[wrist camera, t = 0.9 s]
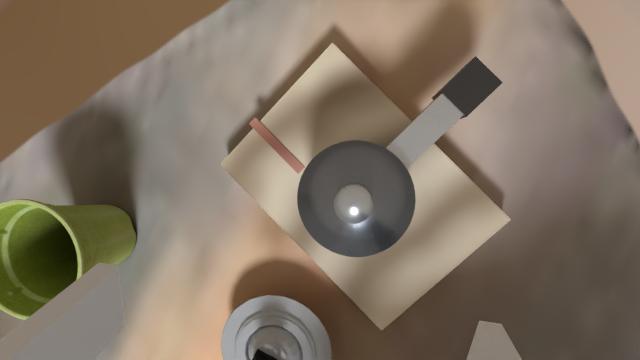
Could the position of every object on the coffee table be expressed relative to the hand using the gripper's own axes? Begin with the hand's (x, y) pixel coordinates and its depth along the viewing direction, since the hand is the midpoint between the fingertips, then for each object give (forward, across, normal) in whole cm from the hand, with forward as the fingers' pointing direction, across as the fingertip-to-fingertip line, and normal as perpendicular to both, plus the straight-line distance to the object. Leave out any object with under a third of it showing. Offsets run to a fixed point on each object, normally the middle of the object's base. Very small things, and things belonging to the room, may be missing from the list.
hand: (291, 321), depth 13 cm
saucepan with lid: (+17, -5, -2) cm, 18 cm away
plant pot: (+19, +21, +10) cm, 30 cm away
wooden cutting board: (+19, -3, +1) cm, 19 cm away
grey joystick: (+16, +2, +16) cm, 23 cm away
